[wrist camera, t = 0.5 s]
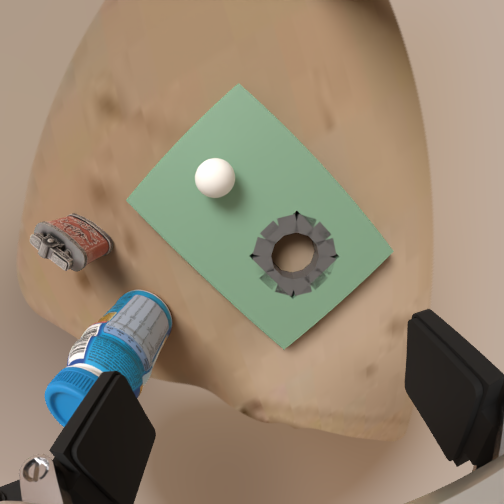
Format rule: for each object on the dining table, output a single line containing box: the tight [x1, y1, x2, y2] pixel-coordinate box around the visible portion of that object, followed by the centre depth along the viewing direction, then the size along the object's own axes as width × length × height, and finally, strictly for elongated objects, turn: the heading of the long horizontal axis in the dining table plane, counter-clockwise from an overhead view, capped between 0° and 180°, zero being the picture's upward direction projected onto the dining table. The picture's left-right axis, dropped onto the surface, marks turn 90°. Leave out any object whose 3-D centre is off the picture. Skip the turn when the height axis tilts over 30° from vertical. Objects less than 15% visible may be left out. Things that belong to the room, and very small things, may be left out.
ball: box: [195, 158, 235, 198], centre depth 29 cm, size 4×4×4 cm
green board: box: [126, 83, 393, 349], centre depth 33 cm, size 26×18×2 cm
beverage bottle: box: [45, 290, 172, 427], centre depth 28 cm, size 8×8×20 cm
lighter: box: [30, 214, 113, 271], centre depth 30 cm, size 8×3×10 cm, turn 58°
